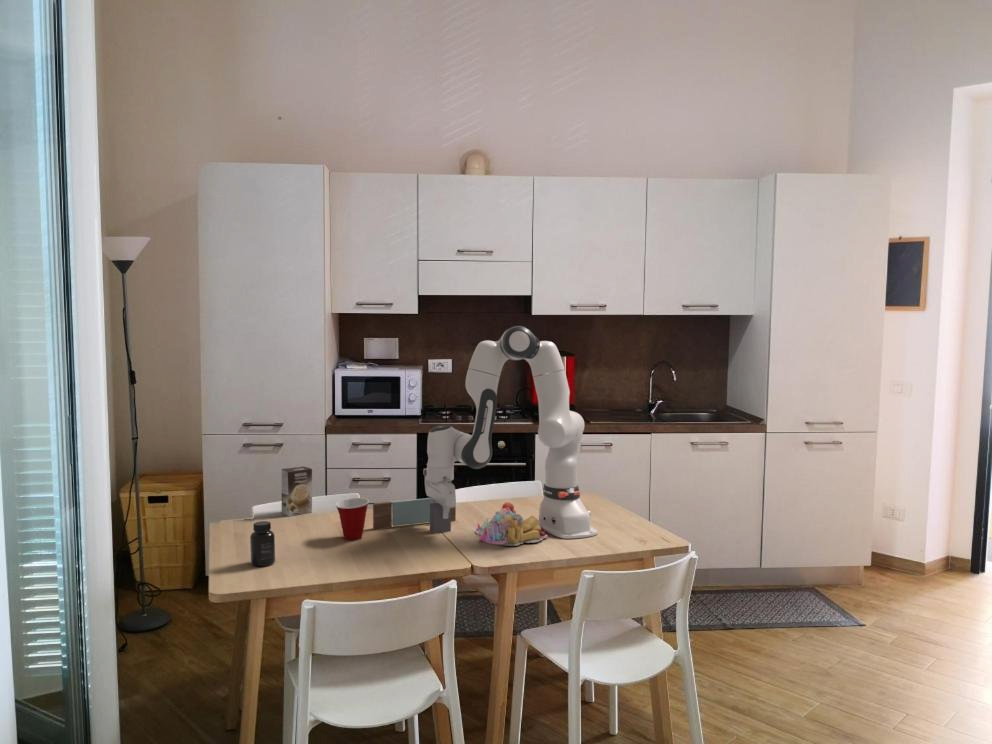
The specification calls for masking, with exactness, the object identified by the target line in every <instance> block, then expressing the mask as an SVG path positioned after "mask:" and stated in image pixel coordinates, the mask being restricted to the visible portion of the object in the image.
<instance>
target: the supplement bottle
mask: <svg viewBox="0 0 992 744" xmlns="http://www.w3.org/2000/svg"><path fill="white" fill-rule="evenodd" d="M252 527H253V532H252V533H251V534H250V537H249V538H250V539H249V540H250V541H249V542H250V545H249V546H250V547H249V548H250V564H251V566H253V567H259V568H260V567H261V568H262V567H263V568H264V567H269V566H272V565H274V564H275V562H276V546H275V545H276V544H275V543H276V541H275V533H274V531H272V530H271V529H272V525H271V521H268V520H262V521H255V522H254V523H253V526H252Z"/></svg>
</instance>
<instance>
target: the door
mask: <svg viewBox="0 0 992 744" xmlns="http://www.w3.org/2000/svg"><path fill="white" fill-rule="evenodd" d="M391 503H392V527H397V526H399V527H400V526H407V525H416V524H426V523H430V504H431V503H432V502H431V498H430V497H426V498H416V499H407V500H406V499H404V500H394V501H391Z"/></svg>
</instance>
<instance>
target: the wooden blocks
mask: <svg viewBox="0 0 992 744" xmlns="http://www.w3.org/2000/svg"><path fill="white" fill-rule="evenodd" d="M456 507H457V506H456V505H455V507H454V508H451V522H456V519H457V518H456V510H457V509H456ZM372 528H373V530H381V529H382V530H383V529H392V528H393V525H392V501H382V502H373V504H372Z"/></svg>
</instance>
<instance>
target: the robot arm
mask: <svg viewBox="0 0 992 744" xmlns="http://www.w3.org/2000/svg"><path fill="white" fill-rule="evenodd" d="M521 360H525V361H526V362H527V363H528V364H529V366H530V370H531V374H532V378H533V382H534V387H535V388H534V389H535V392H536V396H537V402H538V421H539V422H538V423H539V424H538V429H537V436H538V438H539V441H540V443H542V444H543V445H544V446H546V447H547V448H548V452H547V456H546V459H545V461H544V484H543V488H542V493H543V498H542V501H541V502H540V504H539V511H538V512H539V514H538V520H539V522H538V523H537V524H539V527H542V528H543V529H544V530H546V531H547V533H548V534H549V535H552V536H555V537H557V538H560V539H567V540H568V539H580V538H581V539H582V538H589V537H593V536H596V535H598V534H599V533H598V530H597V529H596V528H595V527H594V526H592V525H591V516H592V515H591V511H590V510H587V508H586V507H585V504H584V503H583V502H582V499H581V498H580V497H581V490H580V488H579V485H578V472H579V471H578V470H579V469H578V468H579V467H578V465H579V457H580V452H581V447H582V438H583V433H584V430H585V427H586V426H585V420H584V418H583V416H582V415H581V414H580V413H578V412H576V411H573V410H570V394H571V391H570V386H569V382H568V378H567V374H566V370H565V365H564V362H563V359H562V356H561V354H560V352H559V349H558V347H557V345H556V344H555V343H554V342H552V341H550V340H549V341H548V340H541V341H540V340H539V338H538V337H537V336H535V334H534V333H533V332H532V331H531V330H530V329H529V328H527V327H525V326H522V325H514V326H512V327H510V328H508V329H507V330H505V331H504V332H503V334H502V335H501V337H500V338H499V339H498V340H496V341H493V340H489V339H488V340H483V341H480V342H479V343H478V344H477V346H476V347H475V350H474V351H473V353H472V356H471V358H470V361H469V365H468V369H467V373H466V376H465V389H466V392H467V394H468V396H470V397H471V399H472V400H473V403H474V404H475V409H476V413H475V418H474V425H473V429H472V430H473V431H472V434H470V433H466V432H463V431H460V430H458V429H457V428H454V427H453V426H452V425H450V424H439V425H435V426H433V427H432V428H430V429H429V431H428V434H427V446H426V448H427V449H426V453H427V458H428V459H427V464H426V468H423V476H424V490H425V495H426V496H427V497H428V498H431V502H432V503H439V504H440V505H442V506H443V513H442V518H443V519H448V513H449V511H450V508H454V507H455V505H456V504H457V497H456V496H457V495H456V486H455V484H454V483H452V481H453V480H454V479H455V478H454V476H455V475H454V474H455V473H454V472H455V471H454V470H455V466H454V465H455V462H459V463H462V464H464V465H466V466H468V467H469V468H471V469H473V470H480V469H482V468H485V467H486V466H487V465H488V464H489V463H490V461H491V459H492V456H493V445H492V438H493V437H492V436H493V431H494V424H495V418H496V411H497V404H498V403H497V402H498V397H497V395H498V387H499V382H500V377H501V373H502V370H503V368H504V365H505V363H506V362H511V361H514V362H515V361H521Z"/></svg>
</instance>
